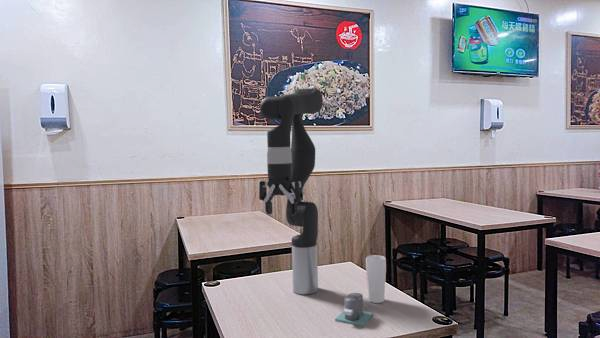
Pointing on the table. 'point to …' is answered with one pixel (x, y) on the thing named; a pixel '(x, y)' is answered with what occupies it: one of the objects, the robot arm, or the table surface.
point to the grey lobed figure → (353, 306)
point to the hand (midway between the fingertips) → (281, 214)
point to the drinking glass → (376, 277)
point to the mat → (360, 322)
